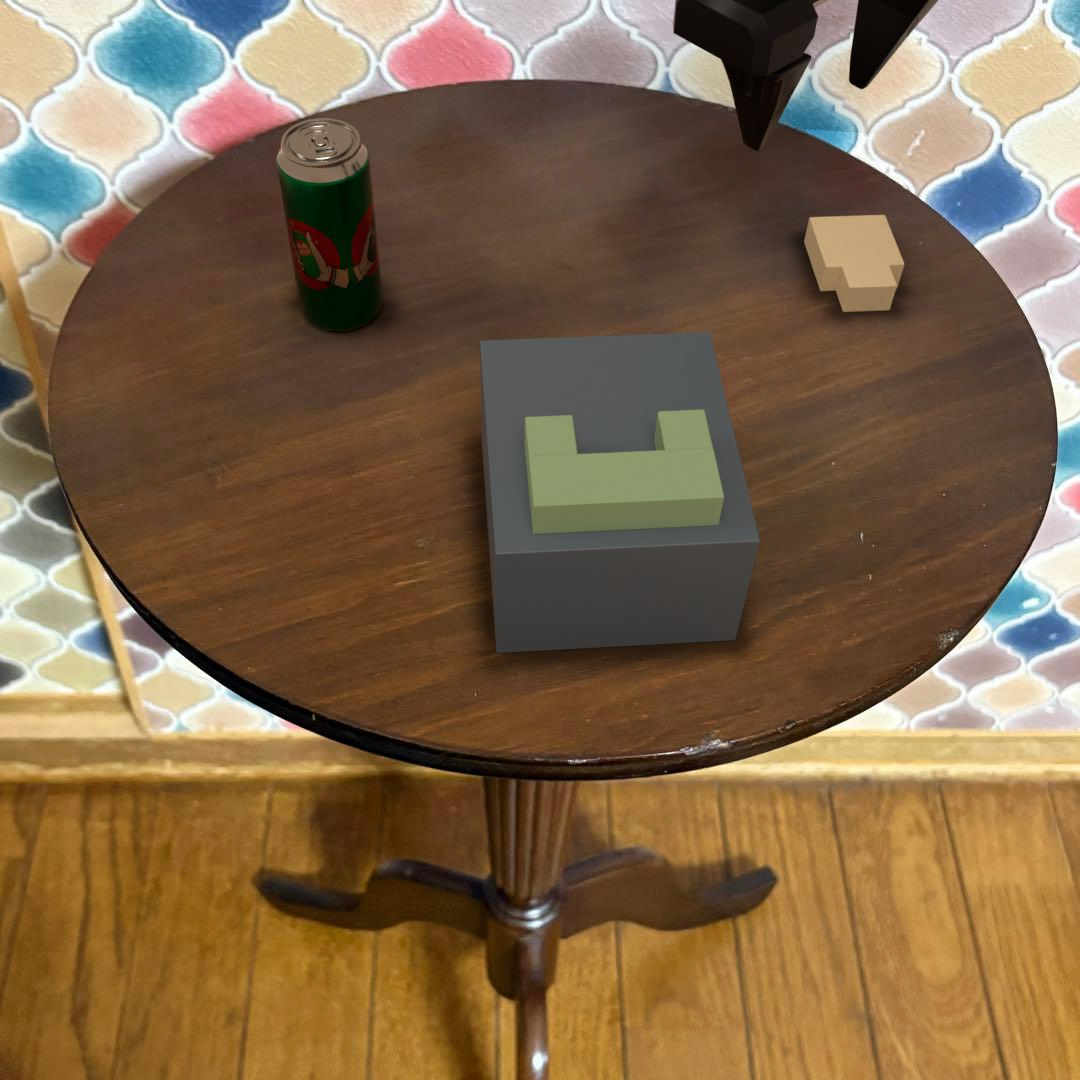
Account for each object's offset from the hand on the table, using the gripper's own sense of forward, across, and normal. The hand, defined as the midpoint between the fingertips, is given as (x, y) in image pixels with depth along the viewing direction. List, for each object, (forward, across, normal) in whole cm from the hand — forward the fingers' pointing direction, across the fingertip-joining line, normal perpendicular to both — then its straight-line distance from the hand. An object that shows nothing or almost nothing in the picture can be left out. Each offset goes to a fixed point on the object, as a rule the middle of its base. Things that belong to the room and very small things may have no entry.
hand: (806, 115), depth 72 cm
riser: (+12, +23, +8) cm, 27 cm away
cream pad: (+12, -4, +3) cm, 13 cm away
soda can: (+12, +22, -16) cm, 30 cm away
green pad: (+4, +25, +10) cm, 27 cm away
